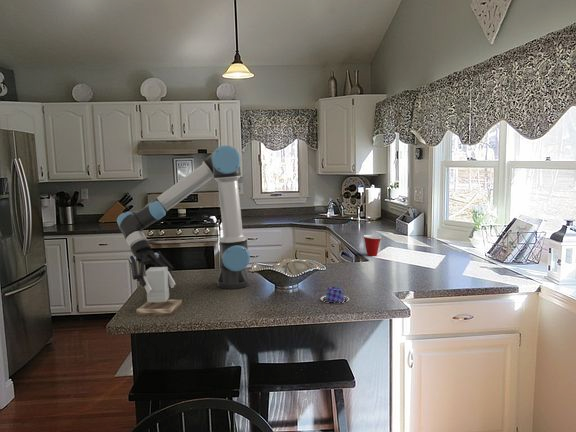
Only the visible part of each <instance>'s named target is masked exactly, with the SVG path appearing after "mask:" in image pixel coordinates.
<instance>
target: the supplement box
mask: <svg viewBox="0 0 576 432" xmlns="http://www.w3.org/2000/svg"><path fill="white" fill-rule="evenodd" d="M144 272H145V274H144V275H145V277H146V279H147V281H148V282H149V284H150V286H151V288H152V291H151V292H150V294H148V293H147V292H146V302H166V301H167V300H169V298H170V289H169V288H170V284H169V282H168V267H156V266H154V267H153V266H151V267H148V269H146V270H145V271H144Z"/></svg>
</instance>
